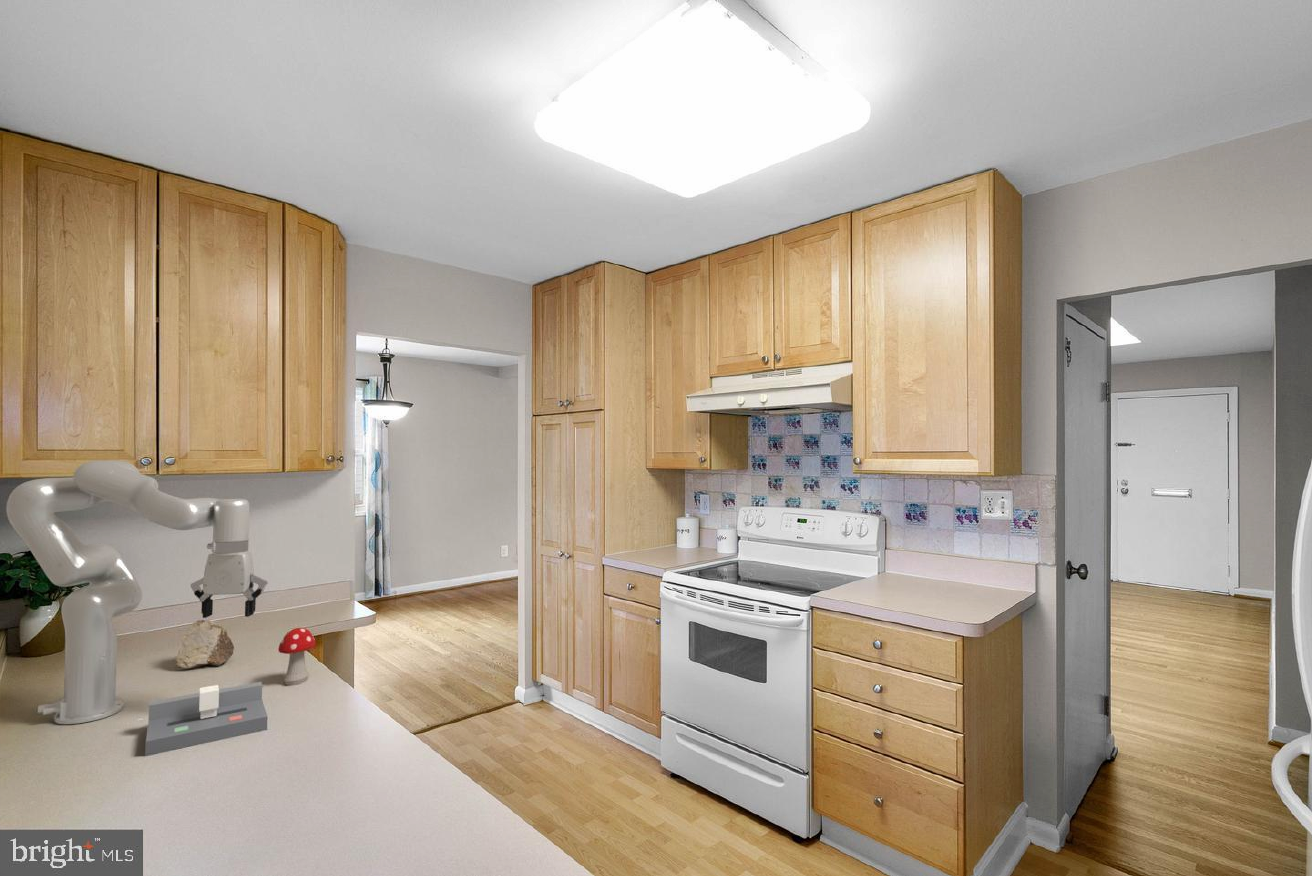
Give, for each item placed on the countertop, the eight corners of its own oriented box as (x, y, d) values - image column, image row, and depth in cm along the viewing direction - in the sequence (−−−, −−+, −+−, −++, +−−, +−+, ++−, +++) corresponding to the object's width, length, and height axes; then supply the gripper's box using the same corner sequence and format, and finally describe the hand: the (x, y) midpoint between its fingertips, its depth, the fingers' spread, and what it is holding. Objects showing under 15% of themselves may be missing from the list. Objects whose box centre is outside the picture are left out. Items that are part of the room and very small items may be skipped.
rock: (167, 651, 180) (213, 611, 191) (157, 652, 184) (203, 612, 195) (205, 684, 186) (248, 642, 196) (195, 683, 190) (237, 643, 201)
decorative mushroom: (296, 689, 171) (297, 633, 172) (269, 686, 173) (270, 631, 174) (322, 676, 181) (323, 624, 182) (296, 674, 183) (297, 622, 183)
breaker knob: (199, 720, 143) (199, 693, 143) (198, 713, 146) (199, 687, 146) (218, 716, 145) (219, 690, 145) (217, 710, 148) (218, 684, 149)
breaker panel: (145, 755, 132) (146, 724, 133) (148, 729, 145) (149, 701, 145) (267, 729, 146) (267, 700, 146) (260, 707, 158) (261, 681, 159)
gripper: (184, 550, 153) (181, 620, 153) (260, 549, 156) (258, 618, 155) (201, 546, 161) (199, 613, 160) (274, 545, 164) (272, 611, 163)
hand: (228, 615), depth 158 cm, fingers open, 9 cm apart
